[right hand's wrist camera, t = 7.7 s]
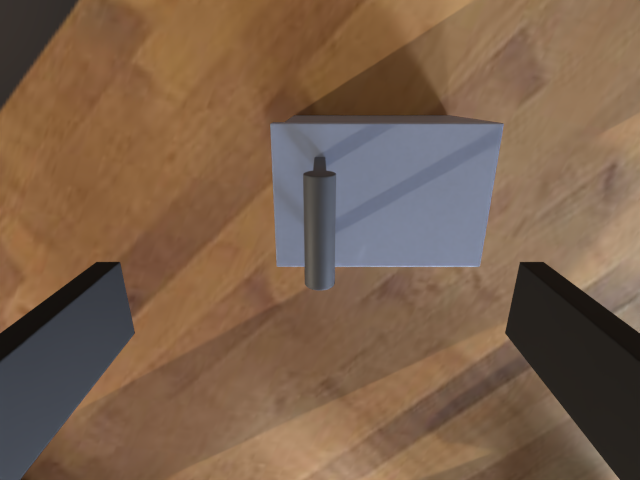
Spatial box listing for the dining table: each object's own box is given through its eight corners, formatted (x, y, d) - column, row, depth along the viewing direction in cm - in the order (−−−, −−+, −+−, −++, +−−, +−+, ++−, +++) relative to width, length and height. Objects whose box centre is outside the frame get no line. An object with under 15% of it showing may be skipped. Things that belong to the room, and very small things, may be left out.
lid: (278, 260, 27) (262, 322, 20) (272, 122, 24) (250, 133, 16) (474, 260, 27) (531, 322, 20) (496, 122, 24) (576, 133, 16)
